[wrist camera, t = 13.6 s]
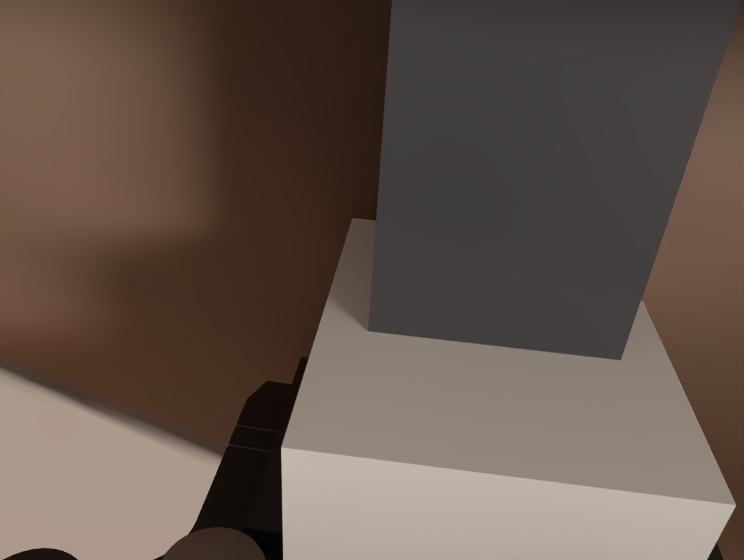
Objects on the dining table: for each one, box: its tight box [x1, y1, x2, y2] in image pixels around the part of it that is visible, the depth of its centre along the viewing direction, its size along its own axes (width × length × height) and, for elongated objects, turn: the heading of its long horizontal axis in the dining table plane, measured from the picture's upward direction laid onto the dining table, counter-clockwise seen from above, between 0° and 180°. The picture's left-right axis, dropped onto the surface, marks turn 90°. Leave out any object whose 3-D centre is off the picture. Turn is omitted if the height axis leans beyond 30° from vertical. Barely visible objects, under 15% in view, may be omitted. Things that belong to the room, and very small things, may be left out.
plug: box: [281, 0, 742, 560], centre depth 7 cm, size 13×4×5 cm, turn 176°
